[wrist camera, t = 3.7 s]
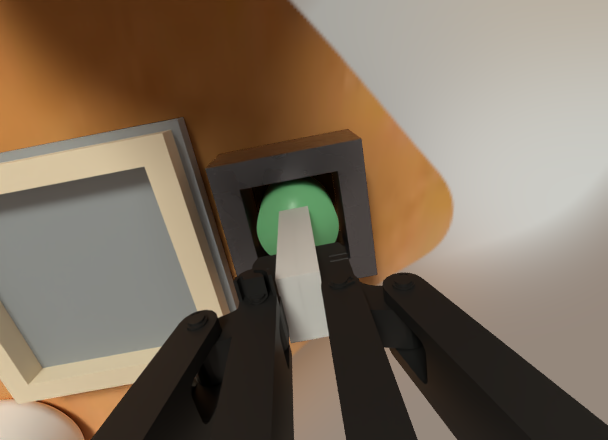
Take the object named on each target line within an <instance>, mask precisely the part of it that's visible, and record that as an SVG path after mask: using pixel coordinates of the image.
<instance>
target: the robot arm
mask: <svg viewBox="0 0 608 440" xmlns="http://www.w3.org/2000/svg"><path fill="white" fill-rule="evenodd" d="M233 283H234V286H235V290H236V293H237V296H238V299H239V306H238V309H236V310H235V311H233V312H231V313H229V314H226V315H224V316H221V317H219V318H218V317H217V314H216V313H215V312H214V311H212V310H201V311H197V312H194V313H192V314H190V315H189V316H187V317H185V318H184V319H183V320H182V321H181V322H180V323H179V324H178V326H177V327H176V328H175V330H174V331H173V332H172V334H171V335H170V336H169V338H168V339H167V340H166V341H165V343H164V344H163V345H162V347H161V348H160V349H159V351H158V352H157V353H156V355H155V356H154V357H153V359H152V360H151V361H150V363H149V364H148V365H147V367H146V368H145V369H144V370H143V372H142V373H141V374H140V376H139V377H138V378H137V380H136V381H135V382H134V384H133V385H132V386H131V388H130V389H129V390H128V392H127V393H126V394H125V395H124V397H123V398H122V399H121V401H120V402H119V403H118V405H117V406H116V407H115V409H114V410H113V411H112V413H111V414H110V415H109V417H108V418H107V419H106V421H105V422H104V423H103V424H102V426H101V427H100V428H99V430H98V431H97V432H96V434H95V435H94V436H93V438H92V439H91V440H294V429H293V389H292V388H293V386H292V353H291V349H290V345H289V337H290V341H291V343H295V342H300V341H306V340H311V339H317V338H322V337H328V336H329V339H330V345H331V350H332V357H333V363H334V369H335V374H336V380H337V386H338V393H339V399H340V404H341V411H342V417H343V422H344V429H345V435H346V440H418V439H417V437H416V434H415V431H414V429H413V426H412V423H411V420H410V418H409V415H408V412H407V409H406V407H405V404H404V401H403V398H402V396H401V393H400V390H399V388H398V385H397V382H396V380H395V377H394V374H393V371H392V369H391V366H390V363H389V360H388V358H387V355H386V352H385V350H384V347H388V348H390V351H391V353H392V354H393V356H394V357H395V358H396V360H397V361H398V362H399V364H400V365H401V366H402V368H403V369H404V370H405V371H406V373H407V374H408V375H409V377H410V378H411V379H412V381H413V382H414V383H415V385H416V386H417V387H418V388H419V390H420V391H421V392H422V394H423V395H424V396H425V398H426V399H427V400H428V402H429V403H430V404H431V405H432V407H433V408H434V409H435V411H436V412H437V414H438V415H439V416H440V417H441V419H442V420H443V421H444V423H445V424H446V425H447V426H448V428H449V429H450V431H451V432H452V433H453V435H454V436H455V437H456V438H457V440H608V425H607V424H605V423H604V422H603V421H602V420H600V419H599V418H598V417H596V416H595V415H594V414H593V413H591V412H590V411H589V410H588V409H586V408H585V407H584V406H583V405H581V404H580V403H579V402H578V401H576V400H575V399H574V398H572V397H571V396H570V395H569V394H567V393H566V392H565V391H564V390H562V389H561V388H560V387H559V386H557V385H556V384H555V383H554V382H552V381H551V380H550V379H548V378H547V377H546V376H545V375H544V374H542V373H541V372H540V371H538V370H537V369H536V368H535V367H533V366H532V365H531V364H530V363H528V362H527V361H526V360H525V359H523V358H522V357H521V356H520V355H518V354H517V353H516V352H515V351H513V350H512V349H511V348H509V347H508V346H507V345H505V344H504V343H503V342H502V341H501V340H499V339H498V338H497V337H496V336H494V335H493V334H492V333H491V332H489V331H488V330H487V329H485V328H484V327H483V326H482V325H481V324H479V323H478V322H477V321H475V320H474V319H473V318H472V317H470V316H469V315H468V314H466V313H465V312H464V311H463V310H462V309H460V308H459V307H458V306H457V305H455V304H454V303H452V302H451V301H450V300H449V299H448V298H446V297H445V296H444V295H443V294H441V293H440V292H439V291H438V290H436V289H435V288H434V287H433V286H431V285H430V284H429V283H428V282H426V281H425V280H424V279H422V278H421V277H419V276H417V275H415V274H411V273H397V274H392V275H390V276H388V277H387V278H386V279H385V280H384V281H383V286H373V285H367V284H363V283H361V282H359V279H358V278H357V277H356V276H355V275H354V273H353V270H352V267H351V264H350V262H349V259H348V256H347V254H346V250H345V248H344V246H343V245H341V244H340V243H338V242H335V243H330V244H324V245H319V246H315V242H314V236H313V231H312V226H311V220H310V215H309V210H308V206H304V207H299V208H294V209H288V210H283V211H279V220H278V238H277V254H275V255H270V256H265V257H259V258H258V259H257V260H256V261H255V262H254V264H253V266H252V269H250V270H247V271H245V272H243V273H241V274H239V275H238V276H237V277H236V278H235V279H234V281H233ZM194 378H195V379H194Z"/></svg>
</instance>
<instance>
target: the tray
mask: <svg viewBox="0 0 608 440" xmlns="http://www.w3.org/2000/svg"><path fill="white" fill-rule="evenodd" d="M238 306H239V299H238V296H237V293H236V290H235V286H234V283H233V278H232V275H231V272H230V269H229V265H228V262H227V259H226V256H225V252H224V249H223V246H222V243H221V239H220V236H219V233H218V229H217V226H216V223H215V220H214V216H213V213H212V210H211V207H210V203H209V200H208V197H207V193H206V190H205V187H204V184H203V180H202V177H201V174H200V171H199V167H198V164H197V161H196V157H195V154H194V151H193V148H192V144H191V141H190V138H189V135H188V131H187V128H186V125H185V121H184V118H183V117H180V118H175V119H170V120H165V121H160V122H155V123H150V124H145V125H140V126H134V127H129V128H124V129H119V130H114V131H109V132H104V133H99V134H94V135H89V136H84V137H78V138H73V139H68V140H63V141H58V142H53V143H48V144H43V145H38V146H33V147H28V148H23V149H17V150H12V151H7V152H2V153H0V379H1V381H2V382H3V384H4V385H5V387H6V388H7V389H8V391H9V392H10V394H11V395H12V397H13V398H14V399H15V401H16V402H17V404H22V403H27V402H33V401H38V400H44V399H49V398H55V397H61V396H66V395H72V394H77V393H83V392H88V391H94V390H100V389H105V388H111V387H116V386H122V385H127V384H133V383H134V382H135V381H136V380H137V378H138V377H139V376H140V374H141V373H142V372H143V370H144V369H145V368H146V367H147V365H148V364H149V363H150V361H151V360H152V359H153V357H154V356H155V355H156V353H157V352H158V351H159V349H160V348H161V347H162V345H163V344H164V343H165V341H166V340H167V339H168V338H169V336H170V335H171V334H172V332H173V331H174V330H175V328H176V327H177V326H178V324H179V323H180V322H181V321H182V320H183V319H184V318H185V317H187V316H189V315H190V314H192V313H194V312H197V311H201V310H212V311H214V312H215V313H216V314H217V317H218V318H219V317H221V316H224V315H226V314H229V313H231V312H233V311H235V310H236V309H238Z"/></svg>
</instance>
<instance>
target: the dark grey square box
mask: <svg viewBox="0 0 608 440" xmlns="http://www.w3.org/2000/svg"><path fill="white" fill-rule="evenodd" d="M205 170H206V173H207V177H208V180H209V183H210V187H211V190H212V193H213V197H214V200H215V203H216V207H217V210H218V213H219V217H220V220H221V224H222V227H223V230H224V234H225V237H226V240H227V244H228V247H229V250H230V254H231V257H232V260H233V264H234V267H235V270H236V274H237V276H238V275H239V274H241V273H243V272H245V271H247V270H250V269H252V266H253V264H254V262H255V261H256V260H257V259H258V258H259V257H265V256H270V255H269V254H268V253H267V252H266V251H265V250H264V248H263V247H262V245H261V243H260V241H259V238H258V235H257V220H258V212H257V208H256V204H255V200H254V196H253V192H252V188H251V187H257V186H262V185H267V184H272V183H278V182H283V181H288V180H293V179H298V178H304V177H309V176H314V175H319V174H325V173H330V172H331V173H332V180H333V186H334V193H335V199H336V206H337V212H338V218H339V225H340V231H338V236H337V239H336V241H335V242H338V243H340V244H341V245H343V246H344V248H345V250H346V254H347V256H348V259H349V262H350V264H351V267H352V270H353V273H354V275H355V276H356V277H357V278H362V277H368V276H373V275H377V268H376V259H375V251H374V242H373V234H372V225H371V216H370V208H369V199H368V191H367V182H366V174H365V165H364V156H363V148H362V139H361V138H360V137H358V136H357V135H356V134H354V133H353V132H351V131H350V130H349V129H346V130H340V131H335V132H330V133H325V134H320V135H315V136H309V137H304V138H299V139H294V140H289V141H284V142H278V143H273V144H268V145H263V146H258V147H253V148H247V149H242V150H237V151H232V152H227V153H222V154H219V155H218V156H217V157H216V158H215V159H214V160H213V161H212V162H211V163H210V164H209V165H208V166H207V167H206V168H205Z"/></svg>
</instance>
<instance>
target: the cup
mask: <svg viewBox="0 0 608 440" xmlns="http://www.w3.org/2000/svg"><path fill="white" fill-rule="evenodd" d="M0 440H84V436H83V434H82V432H81V430H80V429H79V427H78V426H77V425H76V423H75V422H74V421H73V420H72V419H71V418H70V417H68V416H67V415H66V414H64V413H63V412H61V411H60V410H58V409H56V408H54V407H52V406H49V405H47V404H44V403H40V402H37V401H33V402H27V403H22V404H17V402H16V401H15V399H4V400H0Z"/></svg>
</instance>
